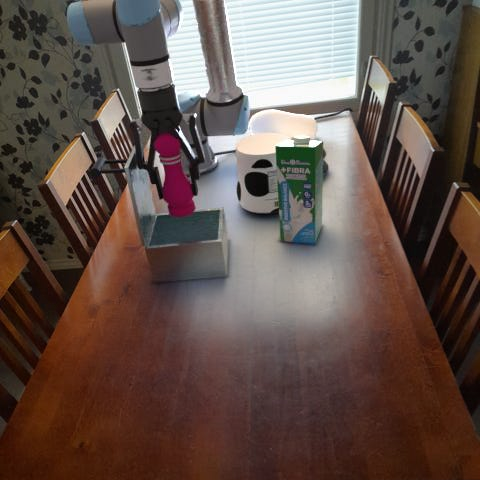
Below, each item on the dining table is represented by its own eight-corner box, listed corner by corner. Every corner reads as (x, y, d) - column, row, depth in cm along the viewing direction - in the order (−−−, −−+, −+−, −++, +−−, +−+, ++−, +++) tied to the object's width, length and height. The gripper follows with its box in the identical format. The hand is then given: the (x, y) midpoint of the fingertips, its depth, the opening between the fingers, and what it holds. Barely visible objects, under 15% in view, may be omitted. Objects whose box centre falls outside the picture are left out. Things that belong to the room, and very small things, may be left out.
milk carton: (322, 226, 121) (323, 130, 104) (314, 244, 115) (315, 146, 98) (289, 223, 124) (285, 130, 107) (280, 241, 117) (275, 145, 101)
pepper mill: (167, 205, 108) (147, 119, 95) (197, 201, 108) (181, 114, 95) (166, 220, 103) (144, 131, 90) (197, 216, 103) (180, 126, 90)
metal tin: (228, 240, 120) (223, 207, 114) (227, 276, 109) (221, 241, 102) (162, 246, 122) (154, 213, 115) (154, 282, 110) (144, 248, 103)
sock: (318, 108, 163) (320, 128, 155) (315, 134, 171) (317, 154, 163) (249, 108, 165) (247, 127, 156) (249, 133, 172) (247, 153, 164)
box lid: (141, 137, 102) (99, 139, 103) (128, 167, 91) (80, 169, 91) (155, 212, 115) (117, 213, 115) (145, 246, 103) (103, 248, 103)
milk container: (254, 187, 142) (249, 128, 129) (306, 194, 134) (305, 133, 122) (228, 214, 131) (219, 153, 119) (283, 223, 124) (280, 159, 112)
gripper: (100, 97, 86) (132, 207, 101) (205, 85, 84) (222, 198, 99) (109, 86, 91) (138, 191, 107) (208, 74, 90) (223, 183, 105)
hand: (178, 194), depth 103 cm, fingers closed on pepper mill, 7 cm apart
